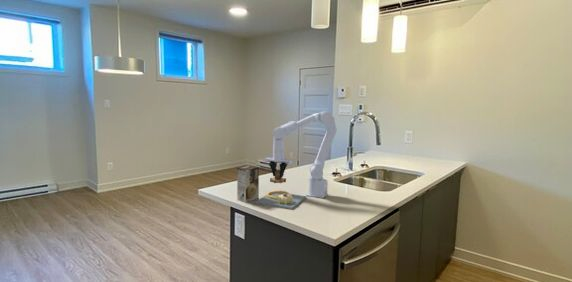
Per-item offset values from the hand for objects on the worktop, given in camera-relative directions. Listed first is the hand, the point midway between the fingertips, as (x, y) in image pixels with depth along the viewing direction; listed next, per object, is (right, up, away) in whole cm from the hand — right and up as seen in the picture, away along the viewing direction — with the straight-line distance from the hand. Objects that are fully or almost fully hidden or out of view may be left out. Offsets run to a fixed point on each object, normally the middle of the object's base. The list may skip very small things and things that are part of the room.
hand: (278, 176), depth 164 cm
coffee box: (-15, -11, -8) cm, 20 cm away
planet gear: (0, -3, 0) cm, 3 cm away
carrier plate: (+2, -11, -10) cm, 15 cm away
